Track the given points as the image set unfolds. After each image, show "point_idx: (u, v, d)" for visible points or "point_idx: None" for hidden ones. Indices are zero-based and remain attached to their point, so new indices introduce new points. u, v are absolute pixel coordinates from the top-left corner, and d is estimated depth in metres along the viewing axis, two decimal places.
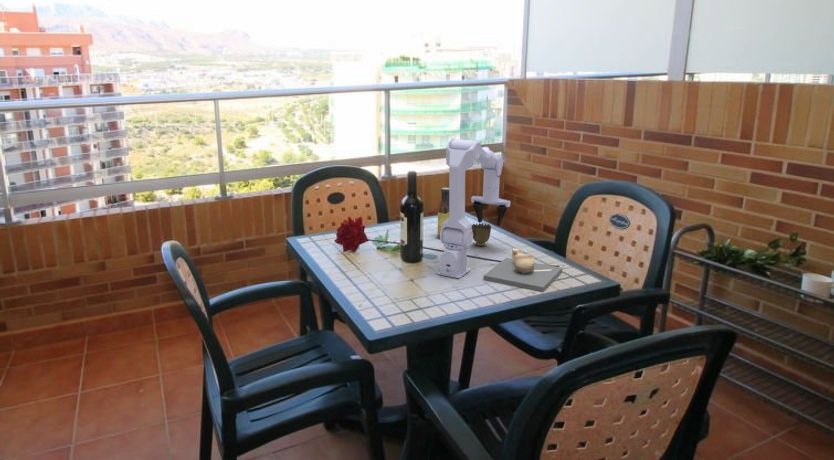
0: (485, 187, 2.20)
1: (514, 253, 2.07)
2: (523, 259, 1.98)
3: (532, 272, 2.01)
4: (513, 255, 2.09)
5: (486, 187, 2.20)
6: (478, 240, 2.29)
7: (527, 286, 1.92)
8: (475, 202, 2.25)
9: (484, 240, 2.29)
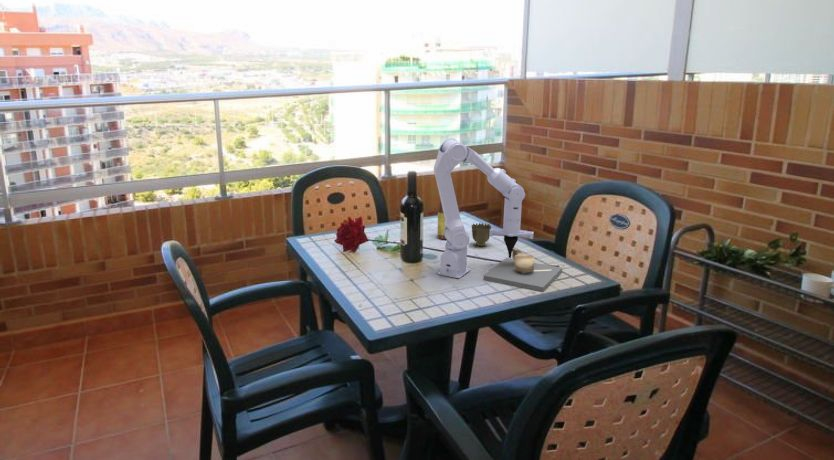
0: None
1: (514, 253, 2.07)
2: (523, 259, 1.98)
3: (532, 272, 2.01)
4: (513, 255, 2.09)
5: None
6: (478, 240, 2.29)
7: (527, 286, 1.92)
8: None
9: (484, 240, 2.29)
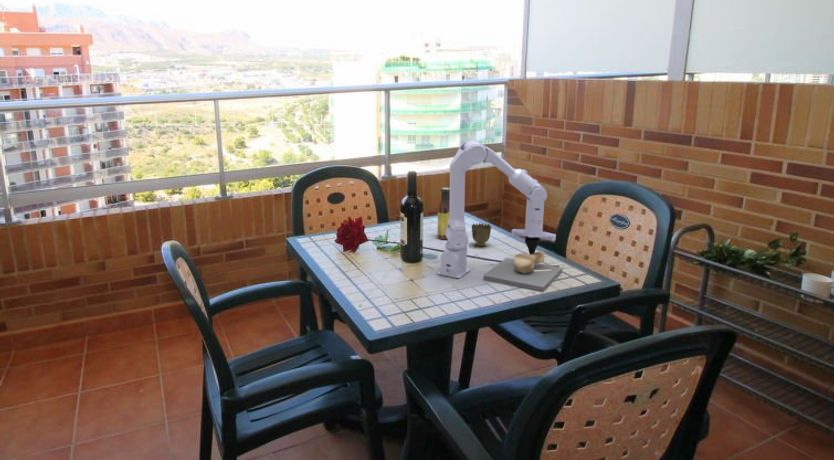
0: None
1: None
2: (517, 257, 2.00)
3: (532, 272, 2.01)
4: None
5: None
6: (478, 240, 2.29)
7: (527, 286, 1.92)
8: None
9: (484, 240, 2.29)
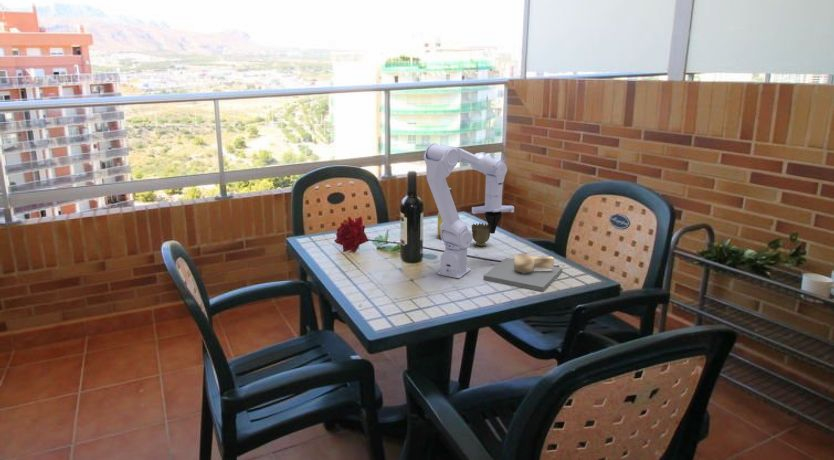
0: (486, 194, 2.08)
1: None
2: (517, 256, 2.02)
3: (532, 272, 2.01)
4: None
5: (486, 194, 2.08)
6: (478, 240, 2.29)
7: (527, 286, 1.92)
8: None
9: (484, 240, 2.29)
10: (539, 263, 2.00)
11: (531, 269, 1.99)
